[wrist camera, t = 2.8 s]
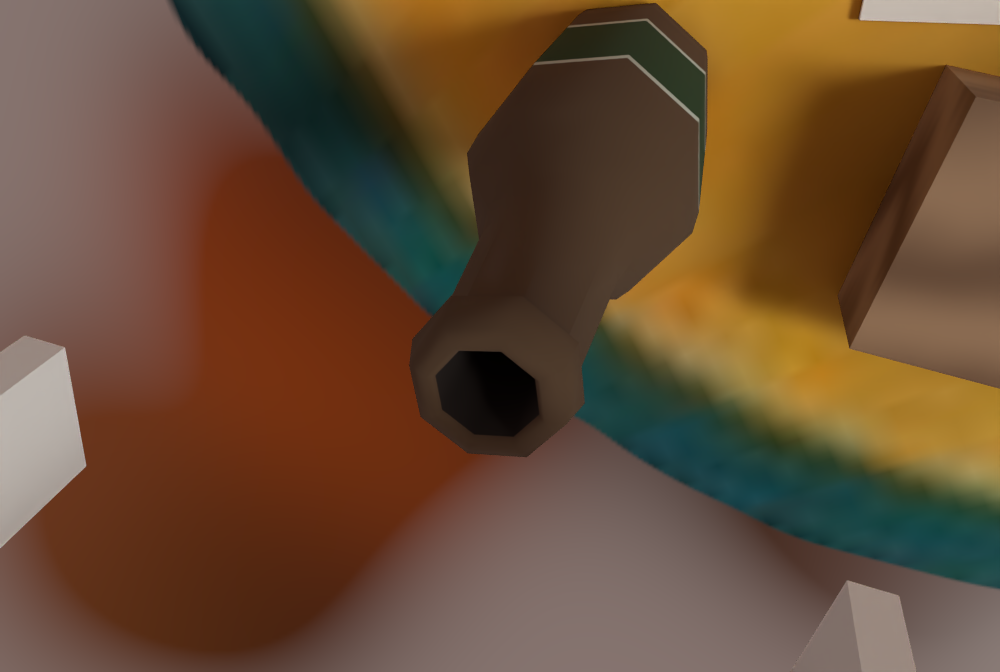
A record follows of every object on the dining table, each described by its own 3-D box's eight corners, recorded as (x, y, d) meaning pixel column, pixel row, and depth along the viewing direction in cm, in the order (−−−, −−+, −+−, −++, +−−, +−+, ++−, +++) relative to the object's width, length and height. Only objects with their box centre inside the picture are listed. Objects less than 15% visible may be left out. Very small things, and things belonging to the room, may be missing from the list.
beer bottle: (671, -42, 32) (568, 143, 12) (743, 128, 35) (751, 500, 15) (510, 48, 36) (230, 304, 16) (587, 196, 38) (429, 571, 19)
